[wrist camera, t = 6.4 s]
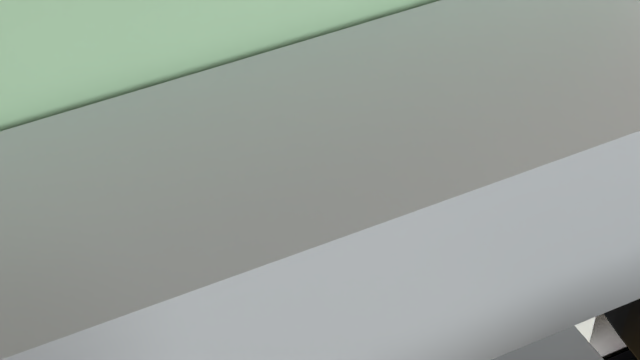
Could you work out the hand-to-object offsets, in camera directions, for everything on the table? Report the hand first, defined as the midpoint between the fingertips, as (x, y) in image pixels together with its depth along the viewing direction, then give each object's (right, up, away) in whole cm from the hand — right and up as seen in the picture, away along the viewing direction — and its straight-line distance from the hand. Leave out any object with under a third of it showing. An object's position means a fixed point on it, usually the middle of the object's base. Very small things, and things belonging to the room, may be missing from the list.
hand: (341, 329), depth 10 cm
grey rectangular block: (-1, +3, 0) cm, 3 cm away
